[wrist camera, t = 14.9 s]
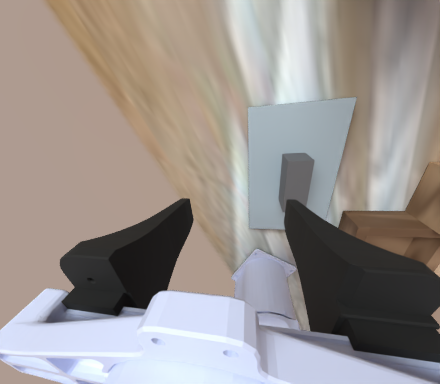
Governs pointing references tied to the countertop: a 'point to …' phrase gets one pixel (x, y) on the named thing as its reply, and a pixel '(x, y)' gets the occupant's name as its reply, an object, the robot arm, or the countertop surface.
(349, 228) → the brown angular frame
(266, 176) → the lid
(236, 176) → the countertop surface
